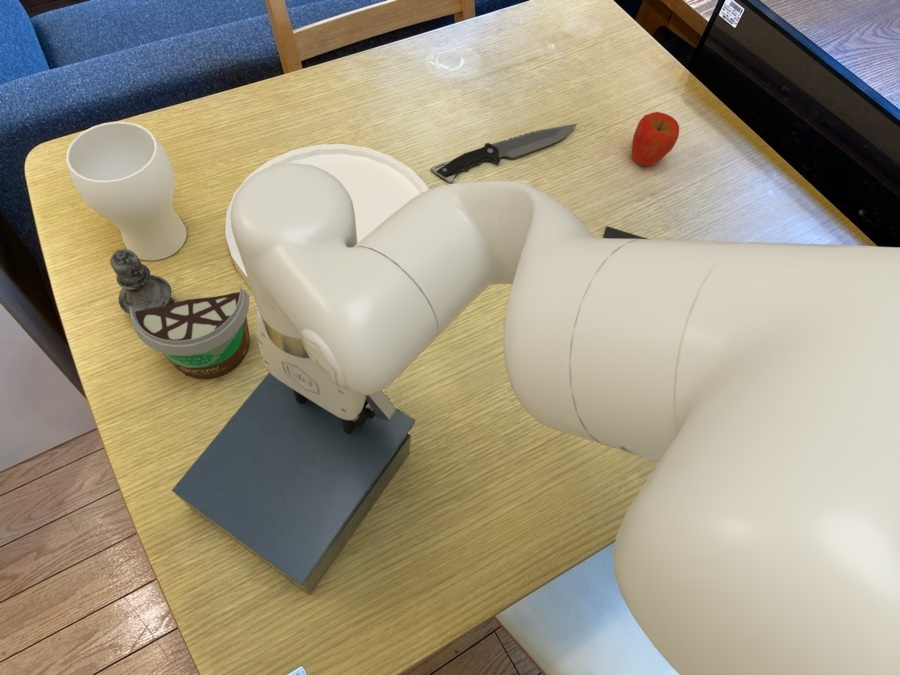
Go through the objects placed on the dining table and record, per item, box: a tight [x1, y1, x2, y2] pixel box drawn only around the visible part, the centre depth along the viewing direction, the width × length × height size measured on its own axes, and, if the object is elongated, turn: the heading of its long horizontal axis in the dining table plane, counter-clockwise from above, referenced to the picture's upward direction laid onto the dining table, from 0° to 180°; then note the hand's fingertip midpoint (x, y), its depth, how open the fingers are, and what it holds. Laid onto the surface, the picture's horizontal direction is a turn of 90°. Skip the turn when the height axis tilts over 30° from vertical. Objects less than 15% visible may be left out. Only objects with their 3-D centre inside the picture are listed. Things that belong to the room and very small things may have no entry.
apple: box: [631, 111, 680, 167], centre depth 94 cm, size 6×6×8 cm
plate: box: [224, 143, 430, 290], centre depth 84 cm, size 28×28×2 cm
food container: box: [129, 285, 251, 380], centre depth 69 cm, size 12×6×10 cm, turn 106°
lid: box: [171, 371, 416, 585], centre depth 60 cm, size 18×16×5 cm
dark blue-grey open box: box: [174, 433, 412, 596], centre depth 65 cm, size 18×16×6 cm
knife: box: [429, 123, 578, 184], centre depth 95 cm, size 26×1×5 cm
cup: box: [65, 121, 188, 261], centre depth 76 cm, size 11×11×15 cm
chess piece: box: [109, 248, 177, 316], centre depth 71 cm, size 6×6×12 cm
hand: (332, 406), depth 63 cm, fingers closed on lid, 5 cm apart
